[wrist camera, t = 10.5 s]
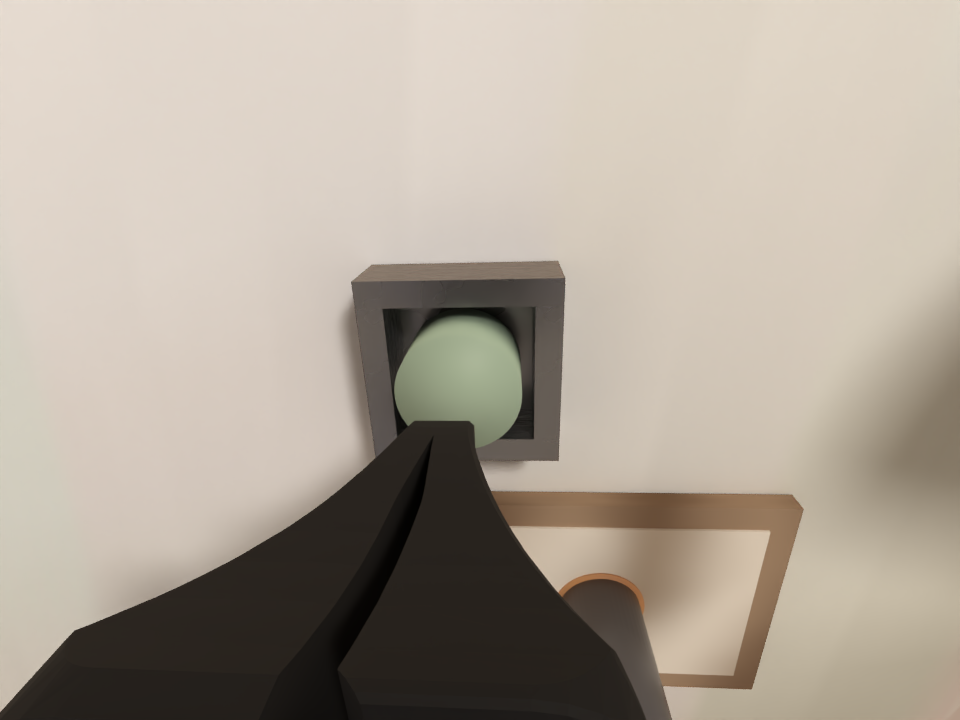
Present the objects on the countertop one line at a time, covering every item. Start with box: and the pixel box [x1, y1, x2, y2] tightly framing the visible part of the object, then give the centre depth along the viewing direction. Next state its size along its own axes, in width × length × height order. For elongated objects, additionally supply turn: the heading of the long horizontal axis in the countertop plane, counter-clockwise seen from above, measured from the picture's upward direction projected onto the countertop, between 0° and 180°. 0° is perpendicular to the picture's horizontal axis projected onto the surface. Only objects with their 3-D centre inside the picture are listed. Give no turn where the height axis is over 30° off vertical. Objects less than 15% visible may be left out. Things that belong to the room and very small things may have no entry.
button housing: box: [351, 261, 565, 461], centre depth 16 cm, size 6×6×2 cm
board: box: [491, 491, 804, 689], centre depth 20 cm, size 12×10×1 cm
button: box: [394, 308, 522, 448], centre depth 15 cm, size 4×4×2 cm
